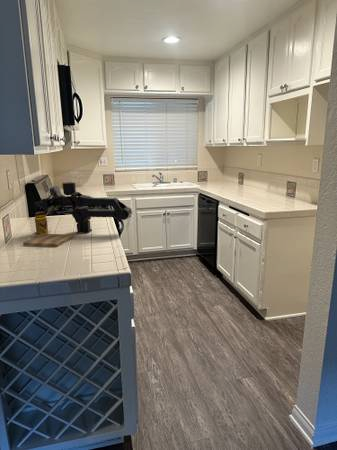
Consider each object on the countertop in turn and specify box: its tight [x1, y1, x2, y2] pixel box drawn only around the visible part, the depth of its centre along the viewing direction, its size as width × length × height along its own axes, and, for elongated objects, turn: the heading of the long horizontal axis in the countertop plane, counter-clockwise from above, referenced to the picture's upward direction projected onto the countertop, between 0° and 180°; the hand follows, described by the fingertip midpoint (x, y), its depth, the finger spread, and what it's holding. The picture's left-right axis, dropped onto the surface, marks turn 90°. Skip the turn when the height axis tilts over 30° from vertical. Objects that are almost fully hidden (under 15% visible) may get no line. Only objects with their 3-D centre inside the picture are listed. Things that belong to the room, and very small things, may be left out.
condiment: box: [31, 211, 51, 237], centre depth 170 cm, size 7×8×12 cm
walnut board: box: [22, 233, 74, 248], centre depth 157 cm, size 18×16×2 cm
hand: (39, 202), depth 173 cm, fingers open, 9 cm apart
